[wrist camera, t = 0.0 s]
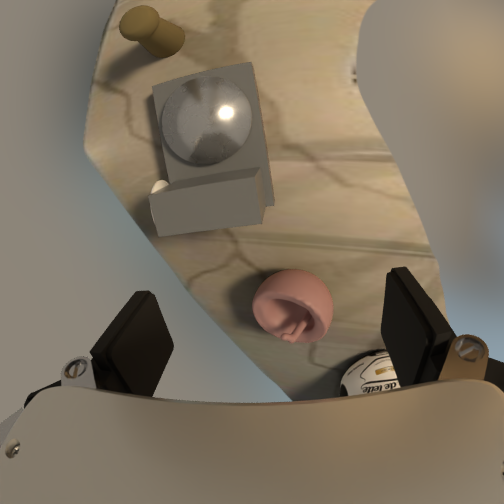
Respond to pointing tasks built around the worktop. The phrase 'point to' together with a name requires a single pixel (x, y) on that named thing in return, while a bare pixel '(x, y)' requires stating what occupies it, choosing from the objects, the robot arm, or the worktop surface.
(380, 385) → the milk container
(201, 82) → the scale pan
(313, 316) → the mortar and pestle
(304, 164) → the worktop surface
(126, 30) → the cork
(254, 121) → the scale
